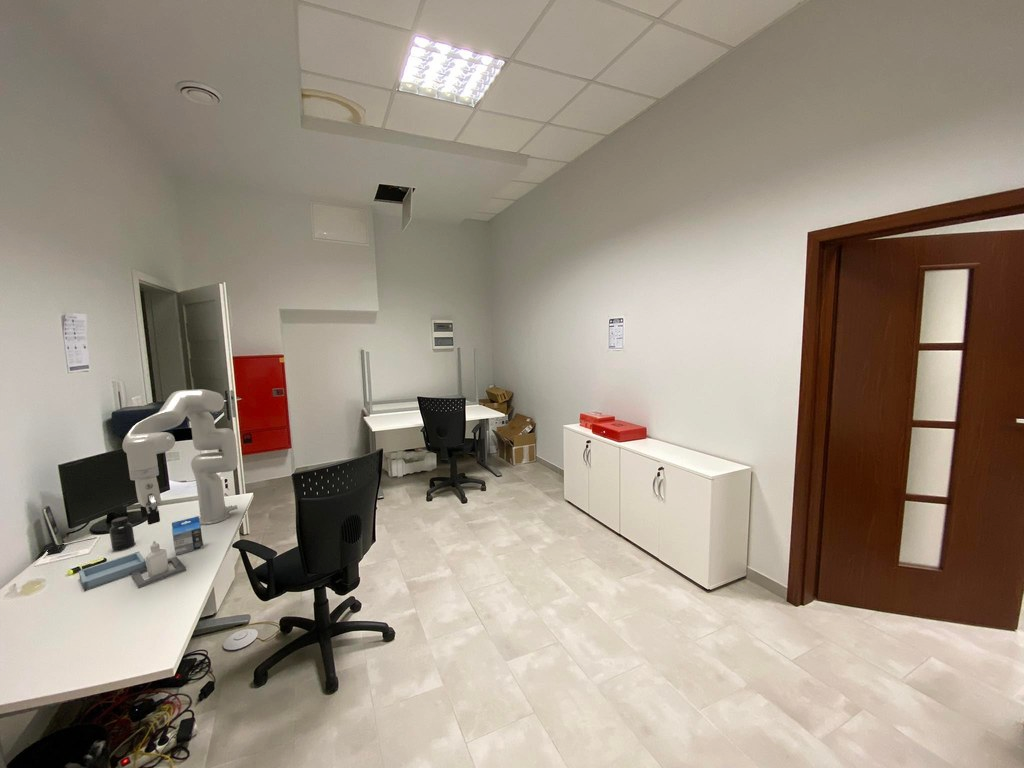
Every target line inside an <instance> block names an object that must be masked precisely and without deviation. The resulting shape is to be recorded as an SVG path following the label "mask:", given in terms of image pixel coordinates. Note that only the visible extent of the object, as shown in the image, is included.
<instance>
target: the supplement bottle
mask: <svg viewBox="0 0 1024 768" xmlns="http://www.w3.org/2000/svg"><path fill="white" fill-rule="evenodd" d="M108 533H109V537H110V544H111V549H112V551H114V552H118V551H119V552H120V551H123V550H127V549H129V548H131V547H134V545H135V544H136V540H135V535H134V534H135V533H134V527H133V524H132V523H130V522H129V518H128V516H121V517H117V518H114V519H112V520H111V527H110V528H109V532H108Z"/></svg>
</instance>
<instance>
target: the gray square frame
mask: <svg viewBox="0 0 1024 768" xmlns="http://www.w3.org/2000/svg"><path fill="white" fill-rule="evenodd" d="M167 560H168V565H170V564H171V565H172V566H173V567H174V569H171V570H167V571H165V572H164V573H162V574H159V575H157V576H154V577H150V578H147V579H145V578H144V577H143V576H142V574H145V573H148V571H147V567H144V568H141V569H138V570H135V571H132V572H130V574H131V575H130V577H131V578H132V580H133V582H134V583H135V585H136V586H137V588H138V589H140V588H142V587H145V586H149V585H151V584H154V583H157V582H159V581H162V580H164V579H168V578H170V577H173V576H176V575H178V574H181V573H183V572H185V571H187V567H186V565H185V564H184V563H183V562H182V561H181V560H180V559H179V558H178V557H177V555H175V556H173V557H170V558H167Z"/></svg>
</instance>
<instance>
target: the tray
mask: <svg viewBox="0 0 1024 768" xmlns="http://www.w3.org/2000/svg"><path fill="white" fill-rule="evenodd" d="M144 567H147V564H146V558H145V557H143V555H142V554H141V552H140V551H136V552H132V553H129V554H126V555H124V556H123V555H122V556H121V557H117V558H114V559H111V560H107V561H105V562H102V563H99V564H96V565H93V566H89V567H86V568H83V569H80V570H78V575H79V580H80V583H81V585H82V588H83V591H84V592H87V591H88V590H91V589H93V588H97V587H101V586H103V585H105V584H108V583H112V582H115V581H117V580H119V579H122V578H125V577H129V576H131V574H130V572H132V571H135V570H138V569H141V568H144Z"/></svg>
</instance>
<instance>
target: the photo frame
mask: <svg viewBox="0 0 1024 768" xmlns="http://www.w3.org/2000/svg"><path fill="white" fill-rule="evenodd" d="M100 538H101V535H97V536H92V537H89V538H83V539H79V540H74V541H70V542H65V543H63V544H64V545H68V544H74V543H78V542H83V541H87V540H91V539H95V540H94V542H93V543H92V545H91V546H90V547H88V548H84V549H79V550H76V551H72V552H67V553H62V554H59V555H54V556H50V557H49V556H48V557H47V555H48V554H49V553H48V552H47V551H45V553H44V554H43V555H42V557H40V558H39V560H38V561H37V562H36V563H35V564H34V566H33V567H35V568H36V567H39V566H44V565H48V564H52V563H57V562H61V561H66V560H70V559H73V558H74V559H75V558H78V557H83V556H87V555H90V554H91V552H92V550H93V549H94V547H95V546H96V544H97V543H98V541H99V539H100ZM64 545H63V546H64ZM45 557H46V558H45Z"/></svg>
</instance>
